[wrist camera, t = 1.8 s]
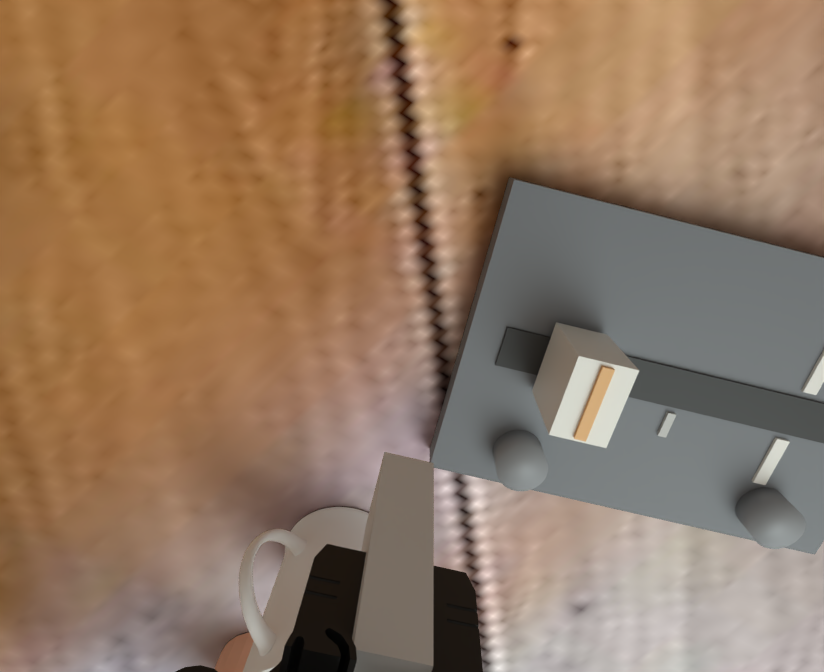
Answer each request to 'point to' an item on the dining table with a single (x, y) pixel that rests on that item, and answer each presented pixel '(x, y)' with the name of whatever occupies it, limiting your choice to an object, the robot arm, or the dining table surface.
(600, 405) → the fader tab
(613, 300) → the console board
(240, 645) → the pepper shaker
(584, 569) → the dining table surface
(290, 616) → the mug
